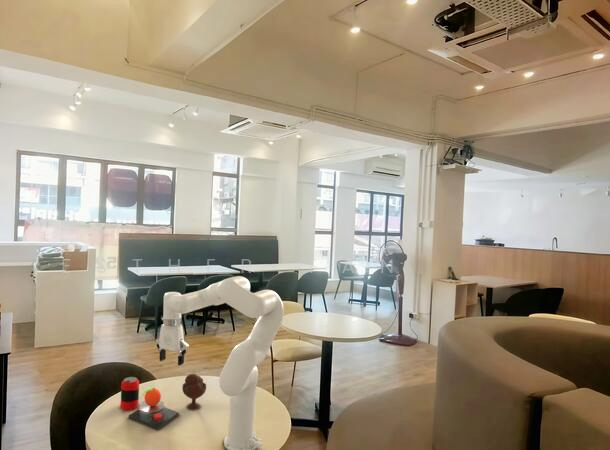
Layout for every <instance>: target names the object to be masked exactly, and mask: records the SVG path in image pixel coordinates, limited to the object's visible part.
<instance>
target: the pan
mask: <svg viewBox="0 0 610 450" xmlns="http://www.w3.org/2000/svg"><path fill="white" fill-rule="evenodd" d="M164 407H165V402H164V401H163V400H161V399H160V402H159V403H158V404H157V405H155V406H149V405H147V404H146V402H145V400H143V401H141V402H140V403H138V407H137V410H139V411H140V412H142V413H145V414H154V413H158V412H160V411H162V410H163V409H164Z"/></svg>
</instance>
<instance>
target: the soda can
mask: <svg viewBox="0 0 610 450" xmlns="http://www.w3.org/2000/svg"><path fill="white" fill-rule="evenodd" d="M120 387H121V388H120V389H121V390H120V408H121V410H123V411H133V410H136V409H138V405H139V398H140V397H139V396H140V381H139V379H138V378H137V377H135V376H128V377H125V378H123V380H122V382H121V385H120Z"/></svg>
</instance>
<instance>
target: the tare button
mask: <svg viewBox="0 0 610 450" xmlns="http://www.w3.org/2000/svg"><path fill="white" fill-rule="evenodd" d="M161 419H162V414H161V413H156V414H155V415H154V420H156V421H159V420H161Z"/></svg>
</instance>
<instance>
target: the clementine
mask: <svg viewBox="0 0 610 450" xmlns="http://www.w3.org/2000/svg"><path fill="white" fill-rule="evenodd" d="M143 395H144V401H145V402H146V404H147V405H149V406H155V405H157V404H158V403H159V402H160V400H161V399H162V393H161V391H160V390H159V389H157V387H156V388H155V387H153V388H152V387H151V388H148V389H147V390H145V391H144V392H143V393H142V397H143Z"/></svg>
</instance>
